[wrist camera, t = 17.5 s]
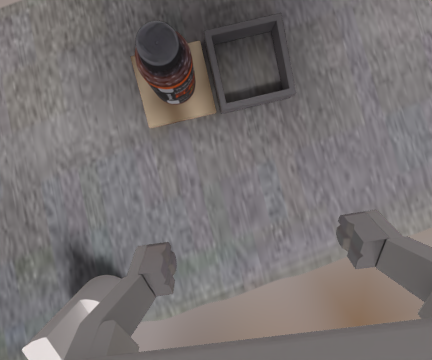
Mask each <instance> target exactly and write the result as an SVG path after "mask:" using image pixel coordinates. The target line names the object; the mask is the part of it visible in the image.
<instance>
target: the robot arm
mask: <svg viewBox="0 0 432 360" xmlns="http://www.w3.org/2000/svg"><path fill="white" fill-rule="evenodd" d="M338 222H339V223H340V226H339V227H337V231H336V235H337V239H338V242H339V244H340V245H341V247H342V248H343V249H345V250H346V251H348V255H347V257H348V258H349V260H350V261H351V263H352V264H353V266H354V267H355V269H360V268H369V267H376V268H377V269H378V270H380V271H381V272H382V273H384V274H385V275H387V276H388V277H390V278H391V279H392V280H394V281H395V282H397V283H398V284H399V285H401V286H403V287H404V288H405V289H407V290H408V291H409V292H411V293H412V294H414V295H415V296H417V297H418V298H419V299H421V300H422V301H424V304H423V305H422V307H421V308H420V310H419V312H418V315H419V316H420V317H421V319H417V320H409V321H401V322H392V323H383V324H375V325H366V326H358V327H349V328H341V329H332V330H324V331H316V332H307V333H298V334H289V335H281V336H272V337H263V338H255V339H247V340H238V341H230V342H221V343H212V344H204V345H195V346H187V347H179V348H170V349H161V350H153V351H146V352H145V351H144V352H138V350H139V346H138V344H137V343H136V342H135V341H134V340H133V339H132V338H131V335H132V334H133V332H134V331H135V329H136V328H137V326H138V325H139V323H140V322H141V320H142V318H143V317H144V315H145V314H146V312H147V311H148V309H149V308H150V306H151V305H152V303H153V301H154V300H155V298H156V297H157V296H163V295H169V294H173V291H174V283H175V280H174V277H173V275H174V274H175V272H176V267H177V263H176V256H175V254H174V252H172V251H171V245H170V243H169V242H164V243H157V244H149V245H142V246H138V247H137V248H136V250H135V253H134V256H133V259H132V262H131V265H130V268H129V271H128V274H127V277H123V278H122V279H121V280H120V282H119V283H118V284H117V285H116V286H115V287H114V288H113V289H112V290H111V291H110V292H109V293H108V294H107V295H106V296H105V297H104V298H103V299H102V301H101V302H100V303H99V304H98V305H97V306H96V307H95V308H94V309H93V310H92V311H91V312H90V313H89V314H88V315H87V316H86V317H85V318H84V320H83V321H82V322H81V323H80V324H79V327H78V329H77V331H76V333H75V336H74V338H73V340H72V342H71V345H70V347H69V349H68V351H67V354H66V356H65V358H64V360H432V247H430V246H428V245H425V244H423V243H421V242H419V241H416V240H414V239H412V238H410V237H408V236H406V237H403V236H402V235H401V234H400V233H399V232H398V231H397V230H396V229H395V228H394V227H393V226H392V225H391V224H390V223H389V222H388V221H387V220H386V219H385V217H384V216H383V215H382V214H381V213H380V212H379V211H377V210H370V211H364V212H357V213H351V214H345V215H340V217H339V220H338Z"/></svg>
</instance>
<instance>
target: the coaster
mask: <svg viewBox="0 0 432 360" xmlns="http://www.w3.org/2000/svg"><path fill="white" fill-rule="evenodd" d="M188 45H189V48H190V51H191V55H192V61H193V67H194V71H195V72H194V73H195V80H196V83H195V90H194V93H193V95H192V96H191V98H190V99H189V100H187V101H186V102H184V103H182V104H178V105H173V104H168V103H166V102H164V101H163V100H161V99H160V98H159V97H158V96H157V94H156V93H155V92H154V91H153V89H152V88H151V87H150V85H149V84H148V83H147V82H146V80H145V79H144V78H143V76H142V75H141V74H140V72H139V70H138V68H137V65H136V61H135V56H131V61H132V64H133V68H134V72H135V76H136V79H137V83H138V87H139V91H140V94H141V98H142V102H143V106H144V110H145V113H146V117H147V121H148V125H149V128H155V127H159V126H163V125H168V124H172V123H176V122H180V121H185V120H189V119H193V118H197V117H202V116H206V115H210V114H214V113H216V108H215V104H214V100H213V95H212V91H211V87H210V82H209V78H208V73H207V69H206V65H205V60H204V56H203V52H202V47H201V43H200V40H199V41H195V42H191V43H188Z"/></svg>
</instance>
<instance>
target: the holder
mask: <svg viewBox="0 0 432 360" xmlns="http://www.w3.org/2000/svg"><path fill="white" fill-rule="evenodd" d="M270 31H271V32H272V37H273V43H274V48H275V53H276V58H277V63H278V69H279V74H280V79H281V84H282V89H283V90H281V91H277V92H273V93H268V94H264V95H260V96H256V97H251V98H247V99H243V100H239V101H234V102H230V103H226V100H225V95H224V91H223V86H222V82H221V77H220V73H219V68H218V64H217V59H216V55H215V50H214V46H213V45H214V44H218V43H223V42H227V41H231V40H236V39H240V38H244V37H248V36H253V35H257V34H261V33H265V32H270ZM204 41H205V45H206V50H207V54H208V59H209V63H210V68H211V72H212V76H213V81H214V85H215V90H216V94H217V98H218V103H219V107H220V112H221V114H223V113H227V112H232V111H236V110H240V109H244V108H249V107H253V106H257V105H261V104H266V103H270V102H274V101H278V100H283V99H287V98H290V97H291V96H293V95H294V94H296V90H295V84H294V79H293V73H292V68H291V63H290V57H289V52H288V47H287V41H286V36H285V30H284V25H283V20H282V14H281V13H278V14H274V15H270V16H265V17H261V18H257V19H253V20H248V21H244V22H240V23H235V24H231V25H227V26H223V27H218V28H214V29H210V30H205V31H204Z"/></svg>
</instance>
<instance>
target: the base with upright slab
mask: <svg viewBox="0 0 432 360" xmlns="http://www.w3.org/2000/svg"><path fill="white" fill-rule="evenodd" d="M120 280H121V278H119V277H116V276H112V275H101V276H97V277H95V278H92V279H91V280H90V281H88V282H87V283H86V284H85V285H84V286H83V287H82V288H81V289H80V290H79V291H78V292H77V293H76V294H75V295H74V296H73V297H72V298H71V299H70V300H69V301H68V302H67V304H66V305H65V306H64V307H63V308H62V309H61V310H60V311H59V312H58V313H57V314H56V315H55V316H54V317H53V318H52V319H51V320H50V321H49V322H48V323H47V324H46V325H45V326H44V327H43V328H42V329H41V330H40V331H39V332H38V333H37V334H36V335H35V337H34V338H33V339H32V340H31V341H30V342H29V343H28V344H27V345H26V346H25V347H24V348H23V349H22V351H23V353H24V354H25V356H26V357H27V358H28V360H64V358H65V356H66V354H67V351H68V349H69V347H70V345H71V342H72V340H73V338H74V336H75V333H76V331H77V329H78V327H79V324H80V323H81V322H82V321H83V320H84V318H85V317H86V316H87V315H88V314H89V313H90V312H91V311H92V310H93V309H94V308H95V307H96V306H97V305H98V304H99V303H100V302H101V301H102V299H103V298H104V297H105V296H106V295H107V294H108V293H109V292H110V291H111V290H112V289H113V288H114V287H115V286H116V285H117V284H118V283H119V282H120Z"/></svg>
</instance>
